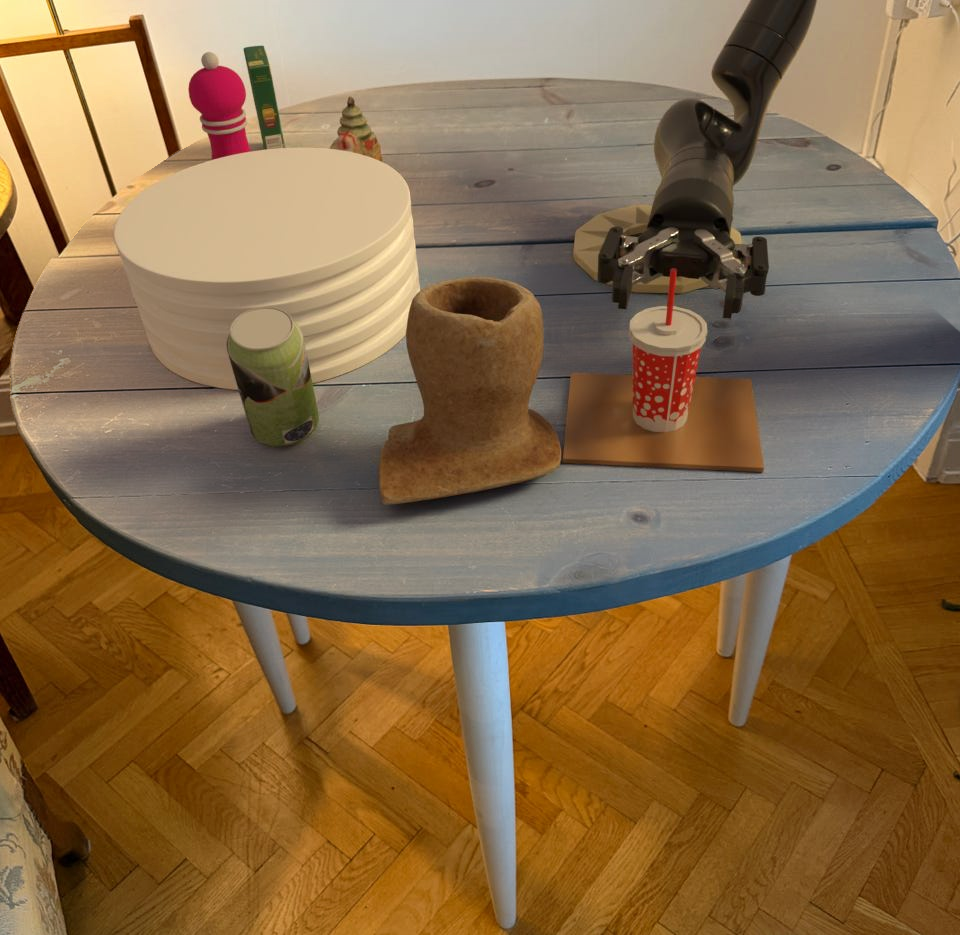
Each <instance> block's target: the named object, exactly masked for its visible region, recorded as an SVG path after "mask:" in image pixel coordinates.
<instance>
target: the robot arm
mask: <svg viewBox="0 0 960 935" xmlns="http://www.w3.org/2000/svg"><path fill="white" fill-rule="evenodd" d="M817 2H818V0H749V2H748V4H747V6H746V8H745V9H744V11H743V12H742V14H741V16H740V18H739V19H738V21H737V23H736V24H735V26H734V28H733V29H732V31H731V32H730V35H729V36H728V38H727V40H726V42H725V43H724V45H723V46H722V49H721V50H720V51H719V53H718V55H717V57H716V59H715V60H714V63H713V65H712V68H711V73H710V75H711V79H712V81H713V82H714V84H715V86H716V87H717V88H718V89H719V91H720V92H721V93H722V94H723V95H724V96H725V97H726V98H727V100H728V101H729V102H730V104H731V106H732V108H733V118H730V116H729V117H728V116H727V115H726V114H724V113H722V112H721V111H719V110H718V109H717V108H714V107H713V106H712V105H710V104H709V103H707V102H706V101H703V100H701V99H699V98H695V97H687V98H682V99H680V100H678V101H676V102H675V103H673V104H672V105H671V106H670V107H668V109H667V110H666V111H665V112H664V113H663V115H662V117H661V118H660V120H659V122H658V124H657V127H656V130H655V134H654V141H653V154H654V159H655V162H656V165H657V168H658V172H659V175H660V177H661V181H660V183H659V185H658V187H657V189H656V192H655V195H654V197H653V201H652V204H651V205H652V209H651V213H650V217H649V221H648V225H647V229H646V231H645V232H643V233H639V236H632V235H631V236H625V235H623V229H622V228H621V227H612V228H610V230H609V232H608V234H607V236H606V239H605V241H604V243H603V245H602V248H601V250H600V252H599V254H598V277H597V280H598V281H597V280H596V281H597V282H598V283H600V284H606V283H609V282H610V281H613V284H612V285H611V302H612V303H613V304H617V309H618V310H627V309H628V306H629V301H630V297H631V293H632V292H631V290H632V286H633V285H635V284H637V283H639V282H641V283H643V284H647V283H649V282H651V281H653V280H655V279H657V278H659V277H661V276H665V277H670V270H671V269H672V268H675V269H677V273H676V277H686V278H691V279H699V278H700V279H702V280H703V281H704V282H705V283H707V284H708V285H709V286H708V287H710V288H711V289H712V290H714V291H715V290H719V289H720V290H721V291H722V292H723V293H724V301H723V310H722V319H729V320H732V315H733V314H736V315H737V314H740V312H741V311H742V308H743V300H744V294H746V293H750V294H751V295H753V296H755V297H761V296H764V295H765V292H766V283H767V277H768V274H769V271H770V270H769V269H770V264H769V251H768V239H767V238H766V237H765V236H754V237H752V240H751V243H747V244H746V243H742V244H735V243H734V241H733V240H732V239H731V238H730V233H731V227H732V224H733V220H734V216H733V214H734V206H735V205H734V204H735V203H734V192H733V190H734V186H735V185H737V184H738V183H739V182H740V181H741V180H742V179H743V178H744V176H745V175H746V173H747V171H748V169H749V168H750V165H751V163H752V162H753V158H754V154H755V152H756V148H757V144H758V140H759V137H760V133H761V129H762V126H763V122H764V119H765V116H766V113H767V110H768V107H769V105H770V103H771V100H772V98H773V95H774V94H775V92H776V90H777V88H778V87H779V84H780V83H781V81H782V79H783V77H784V75H785V74H786V73H787V71H788V69H789V67H790V66H791V64H792V63H793V61H794V59H795V57H796V56H797V54H798V52H799V51H800V49H801V47H802V45H803V43H804V41H805V39H806V37H807V34H808V32H809V29H810V27H811V24H812V21H813V18H814V14H815V11H816V7H817V4H818V3H817ZM734 258H736V259H739V260H740V261H741V263H742V264H740V263H739V262H737V261H736V260H735V259H734ZM633 266H634V269H633ZM650 266H651V267H650Z"/></svg>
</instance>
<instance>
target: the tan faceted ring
mask: <svg viewBox="0 0 960 935" xmlns="http://www.w3.org/2000/svg"><path fill="white" fill-rule="evenodd" d="M652 205H653V204H633V205H629V206H624V207H620V208H617V209H612V210H609V211H605V212H601V213H597V214H596V215H595V216H593V217H592V218H591V219H590V220H588V221H586V222H585V223H584V224H582V225H581V226H580V227H579V228H577V229H576V230H575V232H574V233H575V234H574V240H573V241H574V242H573V249H572V257H573V258H572V259H573V261H574V262H575V263H576V264H577V265H578V266H579V267H580V268H582V270H584V272H585V273H586V274H588V275H589V276H590V277H591V278H592V280H594V281H597V282H598V280H597V277H598V254H599V252H600V250H601V248H602V245H603V243H604V241H605V239H606V236H607V234H608V232H609V230H610V228H612V227H621V228H622V229H623V235H625V236H631V237H632V236H636V235H640V234H642V233H643V232H645V231H646V229H647V225H648V221H649V217H650V213H651V209H652ZM730 238H731V239H732V240H733V241H734V243H735V244H743V241H742V240H743V239H742V234H741V232H740V231H738V230H737V229H736V228H734V226H733V227H732V226H731V233H730ZM734 259H735V260H736V261H737V262H739V263H740V264H741V265H743V264H742V263H741V261H740V260H739V259H736V258H734ZM650 267H651V266H650ZM633 269H634V266H633ZM669 281H670V277H665V276H661V277H659V278H657V279H655V280H653V281H651V282H649V283H647V284H643V283H641V282H639V283H637V284H635V285H633V286H632V290H631V293H639V294H640V293H641V294H668V291H669ZM605 284H606V285H609V286H612V284H613V281H610V282H609V283H605ZM707 287H710V286H709V285H708V284H707V283H705V282H704V281H703V280H702V279H700V278H699V279H691V278H686V277H676V284H675V294H685V293H688V292H693V291H696V290H699V289H703V288H707Z"/></svg>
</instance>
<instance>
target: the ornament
mask: <svg viewBox="0 0 960 935" xmlns="http://www.w3.org/2000/svg"><path fill="white" fill-rule="evenodd" d="M346 104H347V106H345V107H344V108H343V109H342V110H341V117H340V118H339V124H340V126H339V127H338V128H337V133H336V134H337V136H338V137H337V138H336V139H335V140H333V142H332V143H331V145H330V147H329V149H335V150H342V151H348V152H353V153H357V154H361V155H365V156H368V157H371V158H374V159H376V160H379V161H381V162H383V163H384V160H383V156H382V149H381V148H382V147H381V144H380V143H379V141H378V139H377V134H376V132H374V131H372V127H371V126H370V125H369V124H368V121H367V117H365V116H364V115H363V110H362V109H361V108H360V107H358V106H357V105H356V104H355V99H354V98H353V97H352V96H351V95H350V96H348V98H347V100H346Z"/></svg>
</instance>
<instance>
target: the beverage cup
mask: <svg viewBox="0 0 960 935" xmlns="http://www.w3.org/2000/svg"><path fill="white" fill-rule="evenodd" d="M676 273H677V269H675V268H672V269H671V270H670V281H669V291H668V293H667V303H666V305H659V306H654V307H648V308H645V309H643V310H641V311H639V312H637V313H635V314H634V316H633V317H632V318H631V319H630V320H629V339H630V341H631V342H632V375H633V419H634V420H635V422H636V423H637V424H638V425H639V426H641V427H642V428H644V429H646V430H650V431H653V432H670V431H674V430H677V429H678V428H680V427H682V426H683V425H684V423H685V422H686V420H687V416H688V411H689V406H690V401H691V396H692V391H693V386H694V381H695V377H697V370H698V366H699V361H700V356H701V350H702V347H703V346H704V344H705V343H706V340H707V336H708V323H707V322H706V321H705V319H704V318H703V317H702V316H701V315H700V314H698V313H696V312H694V311H692V310H690V309H689V308H688V309H687V308H684V307H679V306H675V305H674V304H675V294H676V293H675V284H676Z"/></svg>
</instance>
